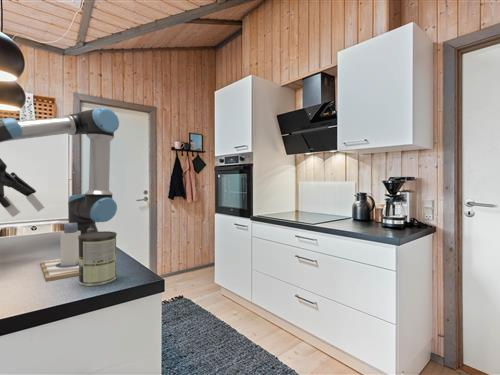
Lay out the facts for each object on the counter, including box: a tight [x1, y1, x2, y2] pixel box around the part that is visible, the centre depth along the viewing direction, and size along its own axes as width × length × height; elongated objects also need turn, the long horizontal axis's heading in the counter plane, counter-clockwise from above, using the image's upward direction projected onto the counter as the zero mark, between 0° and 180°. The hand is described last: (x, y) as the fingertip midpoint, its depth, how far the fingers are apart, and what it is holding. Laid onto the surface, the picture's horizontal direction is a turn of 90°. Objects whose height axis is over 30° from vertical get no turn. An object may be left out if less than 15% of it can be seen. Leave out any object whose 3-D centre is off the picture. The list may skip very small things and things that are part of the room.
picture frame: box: [39, 258, 79, 282], centre depth 98 cm, size 22×16×1 cm
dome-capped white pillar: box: [59, 222, 81, 266], centre depth 98 cm, size 4×4×14 cm
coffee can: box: [78, 230, 117, 287], centre depth 86 cm, size 10×10×14 cm
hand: (30, 211), depth 98 cm, fingers open, 13 cm apart
